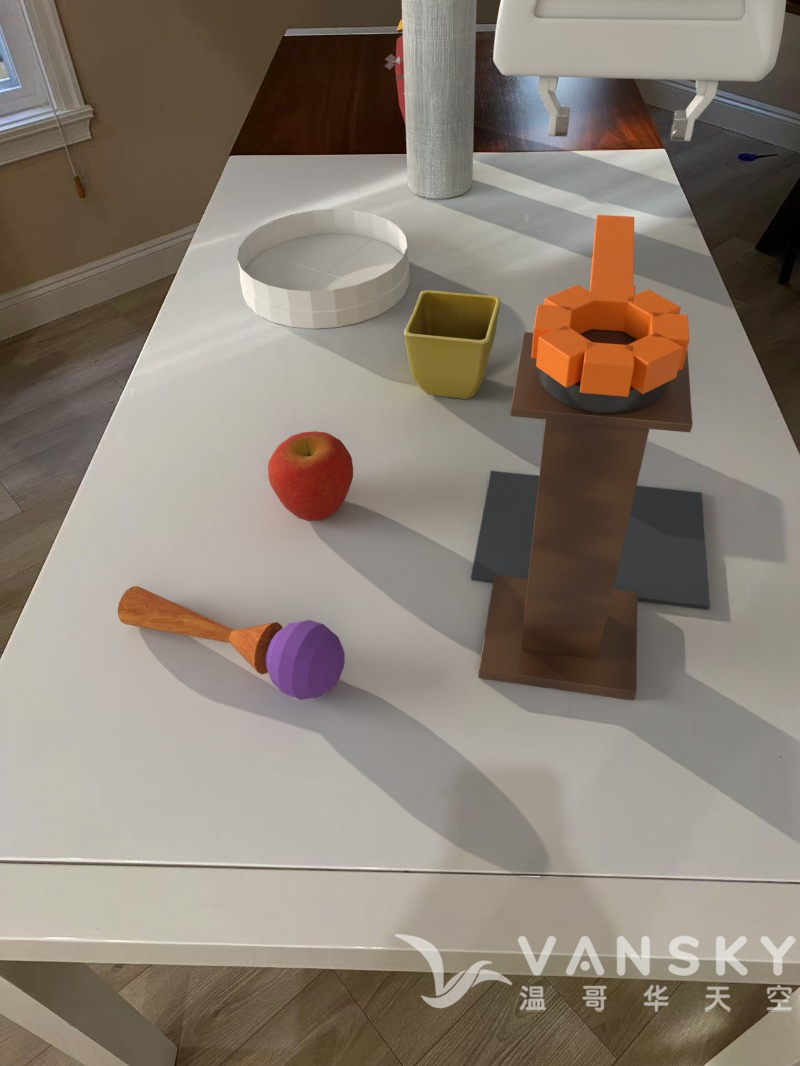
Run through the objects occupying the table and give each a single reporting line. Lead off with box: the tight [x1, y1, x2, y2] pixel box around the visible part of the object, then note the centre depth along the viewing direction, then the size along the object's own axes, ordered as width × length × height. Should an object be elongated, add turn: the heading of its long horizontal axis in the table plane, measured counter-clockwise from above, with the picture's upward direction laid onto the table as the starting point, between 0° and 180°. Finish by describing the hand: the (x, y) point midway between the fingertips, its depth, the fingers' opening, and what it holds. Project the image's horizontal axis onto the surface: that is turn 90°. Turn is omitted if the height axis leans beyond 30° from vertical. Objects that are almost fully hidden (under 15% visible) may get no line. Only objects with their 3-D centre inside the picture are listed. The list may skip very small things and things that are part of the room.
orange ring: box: [531, 214, 690, 397], centre depth 50 cm, size 8×18×2 cm, turn 169°
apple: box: [267, 430, 354, 522], centre depth 77 cm, size 8×8×8 cm
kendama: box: [117, 585, 346, 700], centre depth 66 cm, size 6×6×20 cm
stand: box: [478, 329, 693, 701], centre depth 58 cm, size 12×10×28 cm
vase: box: [401, 0, 478, 200], centre depth 118 cm, size 10×10×27 cm
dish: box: [236, 208, 411, 330], centre depth 107 cm, size 22×22×5 cm
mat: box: [470, 470, 711, 611], centre depth 75 cm, size 20×14×1 cm
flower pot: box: [403, 290, 502, 400], centre depth 89 cm, size 9×9×9 cm
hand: (618, 136), depth 65 cm, fingers open, 8 cm apart
